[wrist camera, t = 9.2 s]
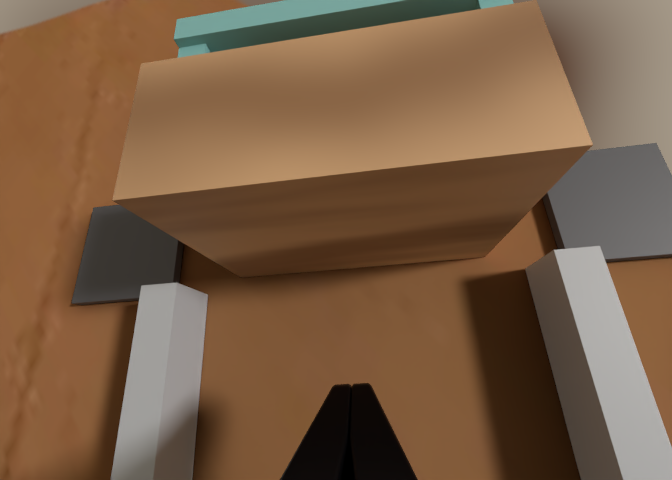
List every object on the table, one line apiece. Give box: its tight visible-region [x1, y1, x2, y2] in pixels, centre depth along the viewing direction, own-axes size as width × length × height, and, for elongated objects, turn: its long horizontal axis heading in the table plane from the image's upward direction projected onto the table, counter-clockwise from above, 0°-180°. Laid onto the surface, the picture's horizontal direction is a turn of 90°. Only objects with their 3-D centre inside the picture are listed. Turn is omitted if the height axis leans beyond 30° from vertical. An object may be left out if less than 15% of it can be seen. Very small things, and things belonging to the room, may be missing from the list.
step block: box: [112, 0, 593, 278], centre depth 13 cm, size 11×11×8 cm
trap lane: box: [72, 0, 672, 480], centre depth 13 cm, size 28×27×3 cm
